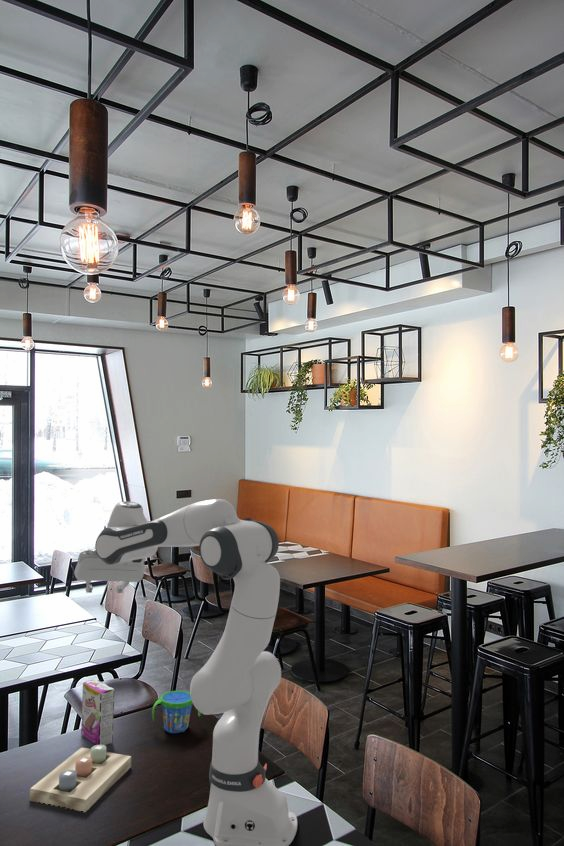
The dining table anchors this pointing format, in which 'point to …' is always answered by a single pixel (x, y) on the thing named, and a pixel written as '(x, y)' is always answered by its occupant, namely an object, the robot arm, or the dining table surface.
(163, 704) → the snack cup
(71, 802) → the button board
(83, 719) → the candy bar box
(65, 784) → the slate button
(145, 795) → the dining table surface
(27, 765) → the dining table surface
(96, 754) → the sage button
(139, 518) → the robot arm
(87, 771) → the pink rounded knob
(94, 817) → the dining table surface
